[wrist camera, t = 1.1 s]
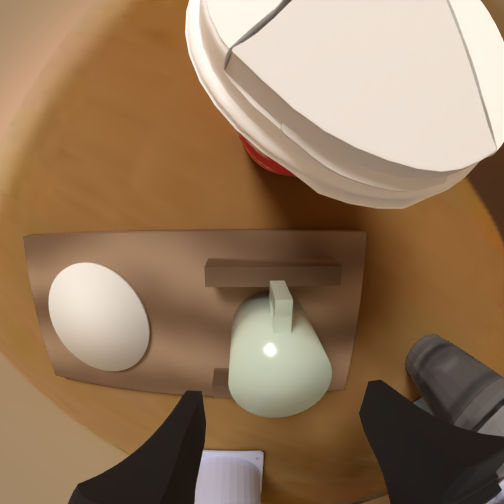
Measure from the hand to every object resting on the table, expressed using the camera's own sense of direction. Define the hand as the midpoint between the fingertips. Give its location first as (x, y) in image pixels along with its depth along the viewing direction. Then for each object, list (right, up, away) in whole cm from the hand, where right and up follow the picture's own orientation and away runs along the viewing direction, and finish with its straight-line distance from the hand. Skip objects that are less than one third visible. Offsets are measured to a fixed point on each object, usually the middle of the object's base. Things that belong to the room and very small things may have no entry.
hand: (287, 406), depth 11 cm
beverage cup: (+15, -3, +11) cm, 19 cm away
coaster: (-13, +1, +8) cm, 16 cm away
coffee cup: (+1, +14, +7) cm, 16 cm away
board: (-7, +2, +9) cm, 12 cm away
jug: (0, +1, +9) cm, 9 cm away
